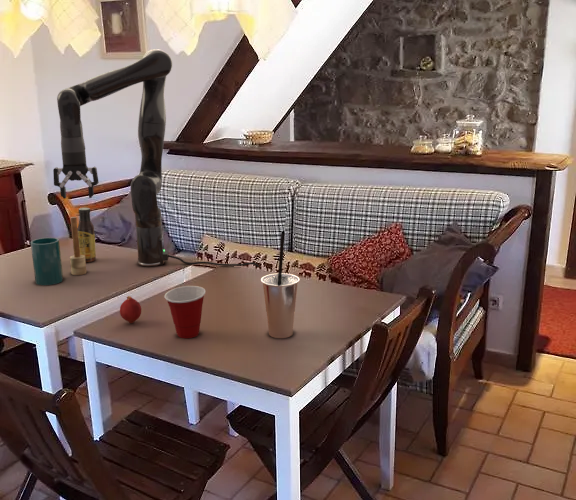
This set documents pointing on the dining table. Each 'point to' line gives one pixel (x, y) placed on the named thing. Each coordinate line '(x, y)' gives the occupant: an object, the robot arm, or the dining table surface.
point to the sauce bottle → (86, 235)
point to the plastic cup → (186, 309)
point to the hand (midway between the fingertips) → (77, 197)
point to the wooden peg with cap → (76, 251)
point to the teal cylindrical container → (47, 261)
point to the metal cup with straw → (280, 299)
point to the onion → (130, 310)
